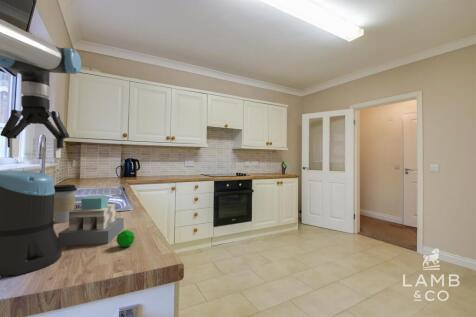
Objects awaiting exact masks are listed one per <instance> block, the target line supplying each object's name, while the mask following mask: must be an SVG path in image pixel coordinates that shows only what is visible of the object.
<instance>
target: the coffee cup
mask: <svg viewBox="0 0 476 317" xmlns="http://www.w3.org/2000/svg"><path fill="white" fill-rule="evenodd" d="M54 189H55V193H54V223H56V224H59V223H60V224H61V223H69V212H70V211H72V210H74V209H75V205H76V204H75V201H76V192H77V190H78V188H77V187H76V185H75V184H58V185H57V184H56V185H55V184H54Z"/></svg>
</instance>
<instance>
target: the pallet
mask: <svg viewBox="0 0 476 317" xmlns="http://www.w3.org/2000/svg"><path fill="white" fill-rule="evenodd" d="M116 218H117V203H108V206H106V207H104V208H102V209H82V210H81V206H80V207H78V208H74V209H73V210H72V211H70V212H69V222H68V228H69V231H76V230H78V229H79V228H81V227H83V230H91V229H92V228H94V227H95V226H96V225H97V230H102V229H105V228H106V227H107V226H109V225H110V224H111V223H112V222H114V221H115V220H116Z"/></svg>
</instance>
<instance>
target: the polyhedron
mask: <svg viewBox="0 0 476 317" xmlns="http://www.w3.org/2000/svg"><path fill="white" fill-rule="evenodd" d="M134 241H135V233H134V232H133V231H131V230H129V229H123V230H121V231H120V232H119V233H118V234H117V235H116V243H117V245H119V246H121V248H127V247H130V246H131V245H132V244H133V243H134Z"/></svg>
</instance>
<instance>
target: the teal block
mask: <svg viewBox="0 0 476 317" xmlns="http://www.w3.org/2000/svg"><path fill="white" fill-rule="evenodd" d="M80 200H81V202H80V203H81V206H80V207H81V210H82V209H102V208H104V207H106V206H108V204H109V195H89V196H85V197H83V198H81V199H80Z"/></svg>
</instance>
